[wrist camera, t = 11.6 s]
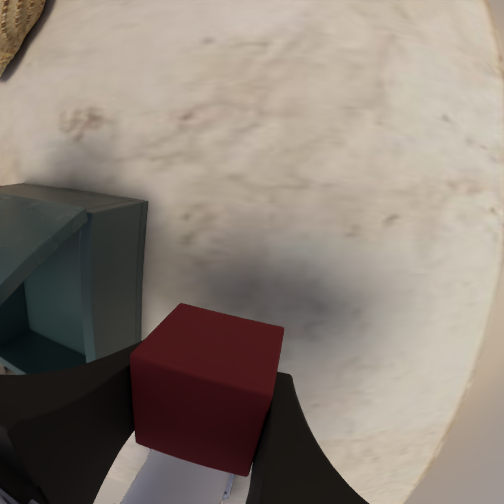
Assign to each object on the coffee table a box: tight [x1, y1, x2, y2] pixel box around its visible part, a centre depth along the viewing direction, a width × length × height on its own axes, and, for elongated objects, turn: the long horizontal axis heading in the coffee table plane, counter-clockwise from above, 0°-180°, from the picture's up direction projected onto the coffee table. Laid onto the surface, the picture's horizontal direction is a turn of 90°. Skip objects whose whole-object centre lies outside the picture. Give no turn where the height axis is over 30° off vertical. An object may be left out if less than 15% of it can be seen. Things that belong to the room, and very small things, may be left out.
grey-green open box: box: [0, 183, 148, 375], centre depth 19 cm, size 14×13×6 cm
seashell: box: [0, 0, 45, 77], centre depth 15 cm, size 8×6×10 cm
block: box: [130, 303, 284, 477], centre depth 10 cm, size 4×4×4 cm
